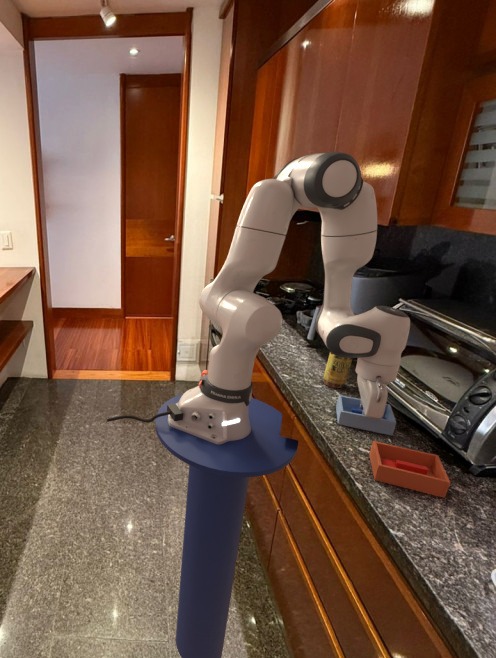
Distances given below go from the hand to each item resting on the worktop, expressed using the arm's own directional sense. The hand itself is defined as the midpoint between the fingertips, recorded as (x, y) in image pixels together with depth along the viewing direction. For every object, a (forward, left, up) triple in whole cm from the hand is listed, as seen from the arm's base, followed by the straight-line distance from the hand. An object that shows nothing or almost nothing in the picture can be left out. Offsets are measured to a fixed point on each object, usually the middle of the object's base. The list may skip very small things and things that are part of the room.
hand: (364, 414), depth 104 cm
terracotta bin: (+6, -20, -2) cm, 21 cm away
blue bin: (0, 0, -2) cm, 2 cm away
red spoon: (+6, -20, -1) cm, 21 cm away
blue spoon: (+1, 0, -1) cm, 2 cm away
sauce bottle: (-6, +19, -2) cm, 20 cm away
